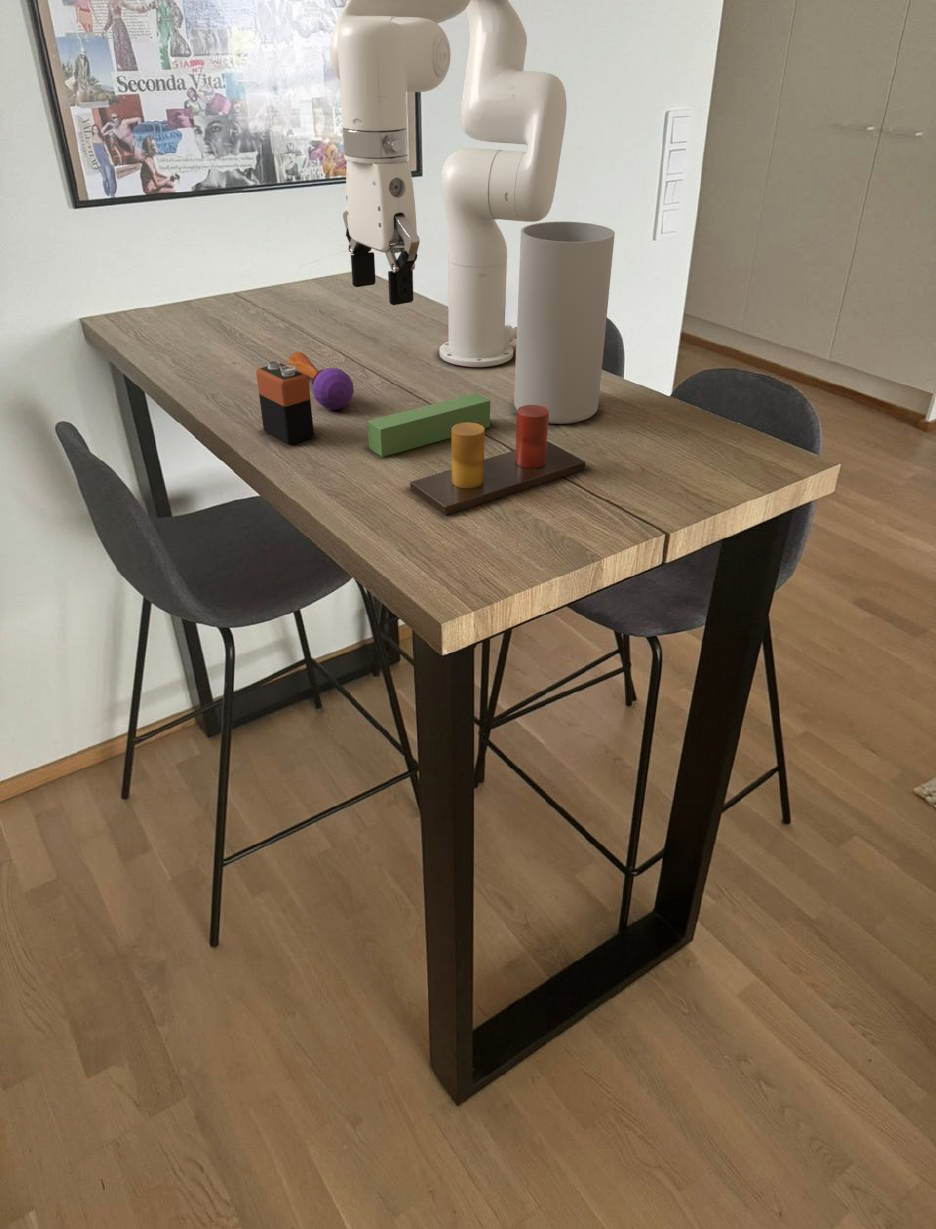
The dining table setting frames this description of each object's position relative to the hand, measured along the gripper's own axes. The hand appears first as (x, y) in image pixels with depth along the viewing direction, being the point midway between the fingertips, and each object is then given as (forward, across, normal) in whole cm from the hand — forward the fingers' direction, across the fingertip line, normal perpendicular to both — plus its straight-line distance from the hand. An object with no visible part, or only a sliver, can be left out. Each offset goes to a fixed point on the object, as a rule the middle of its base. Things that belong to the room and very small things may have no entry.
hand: (382, 294), depth 115 cm
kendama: (+19, +19, +1) cm, 27 cm away
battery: (+19, +7, +12) cm, 24 cm away
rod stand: (+19, -20, -5) cm, 28 cm away
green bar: (+19, -4, -4) cm, 20 cm away
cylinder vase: (+19, -6, -25) cm, 32 cm away
